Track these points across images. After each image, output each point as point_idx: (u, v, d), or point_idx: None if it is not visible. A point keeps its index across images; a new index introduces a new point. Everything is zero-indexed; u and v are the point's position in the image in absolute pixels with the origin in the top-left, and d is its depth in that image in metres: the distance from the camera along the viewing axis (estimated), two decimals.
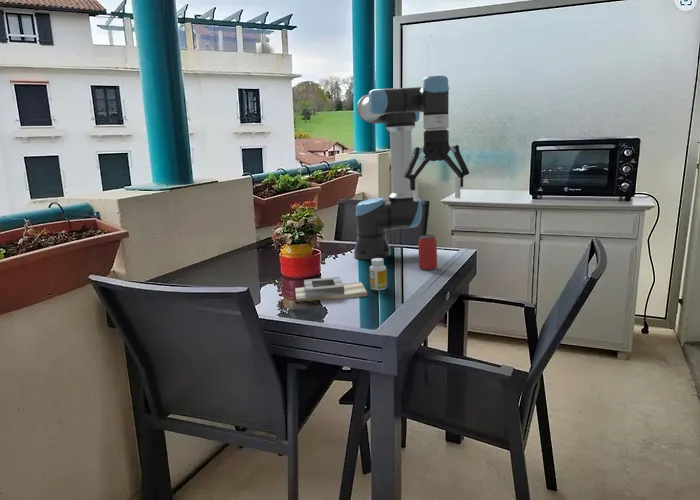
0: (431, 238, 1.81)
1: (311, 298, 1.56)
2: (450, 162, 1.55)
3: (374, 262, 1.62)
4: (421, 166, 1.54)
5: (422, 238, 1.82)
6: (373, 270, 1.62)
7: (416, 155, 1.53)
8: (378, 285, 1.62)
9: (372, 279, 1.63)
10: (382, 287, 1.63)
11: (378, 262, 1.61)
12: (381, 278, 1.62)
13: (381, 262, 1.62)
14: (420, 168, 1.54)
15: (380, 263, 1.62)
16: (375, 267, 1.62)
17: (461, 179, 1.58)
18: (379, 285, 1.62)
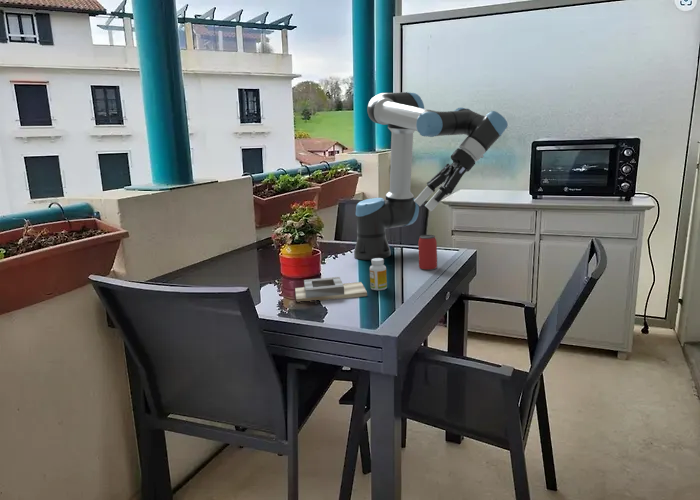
0: (431, 238, 1.81)
1: (311, 298, 1.56)
2: None
3: (374, 262, 1.62)
4: None
5: (422, 238, 1.82)
6: (373, 270, 1.62)
7: None
8: (378, 285, 1.62)
9: (372, 279, 1.63)
10: (382, 287, 1.63)
11: (378, 262, 1.61)
12: (381, 278, 1.62)
13: (381, 262, 1.62)
14: None
15: (380, 263, 1.62)
16: (375, 267, 1.62)
17: None
18: (379, 285, 1.62)
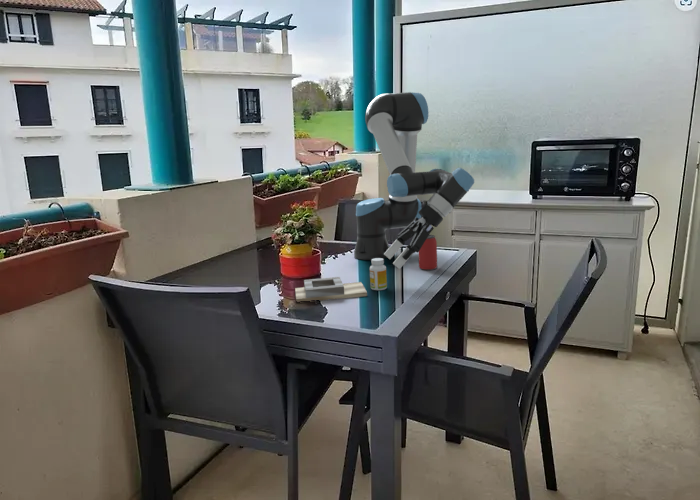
0: (431, 238, 1.81)
1: (311, 298, 1.56)
2: None
3: (374, 262, 1.62)
4: None
5: None
6: (373, 270, 1.62)
7: None
8: (378, 285, 1.62)
9: (372, 279, 1.63)
10: (382, 287, 1.63)
11: (378, 262, 1.61)
12: (381, 278, 1.62)
13: (381, 262, 1.62)
14: None
15: (380, 263, 1.62)
16: (375, 267, 1.62)
17: None
18: (379, 285, 1.62)
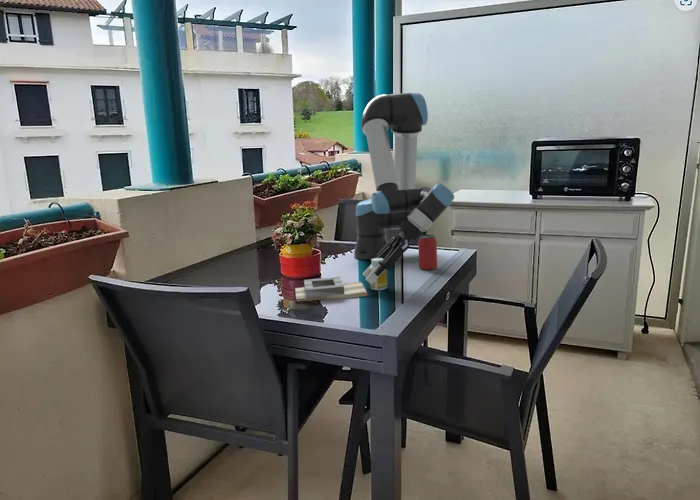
0: (431, 238, 1.81)
1: (311, 298, 1.56)
2: None
3: (374, 262, 1.62)
4: None
5: (422, 238, 1.82)
6: None
7: None
8: (378, 285, 1.62)
9: None
10: (382, 287, 1.63)
11: (378, 262, 1.61)
12: (381, 278, 1.62)
13: None
14: None
15: None
16: (375, 267, 1.62)
17: None
18: (379, 285, 1.62)
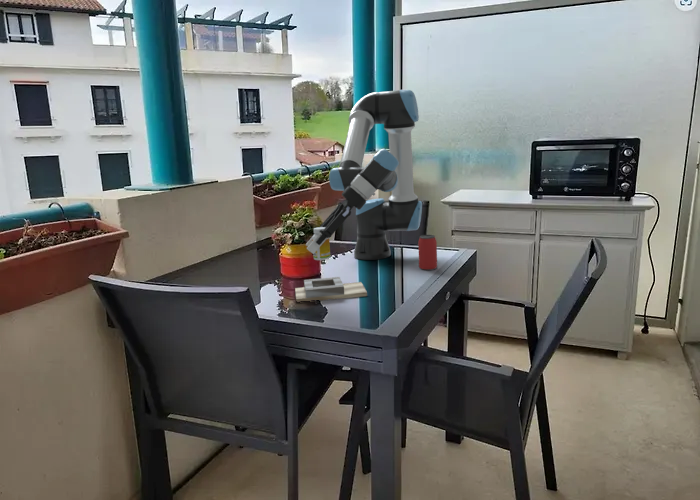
0: (431, 238, 1.81)
1: (311, 298, 1.56)
2: None
3: (316, 231, 1.56)
4: None
5: (422, 238, 1.82)
6: None
7: None
8: (320, 254, 1.57)
9: None
10: (324, 257, 1.57)
11: None
12: (323, 247, 1.56)
13: None
14: None
15: None
16: (316, 236, 1.56)
17: None
18: (321, 254, 1.57)
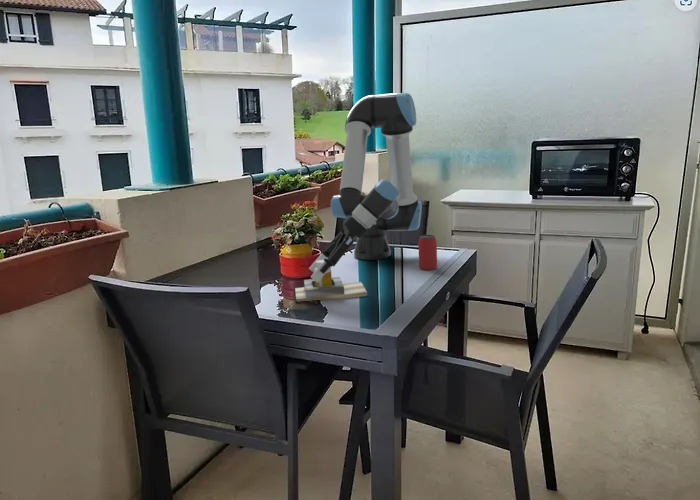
0: (431, 238, 1.81)
1: (311, 298, 1.56)
2: None
3: (318, 264, 1.58)
4: None
5: (422, 238, 1.82)
6: None
7: None
8: None
9: None
10: None
11: None
12: (325, 280, 1.59)
13: None
14: None
15: None
16: None
17: None
18: None
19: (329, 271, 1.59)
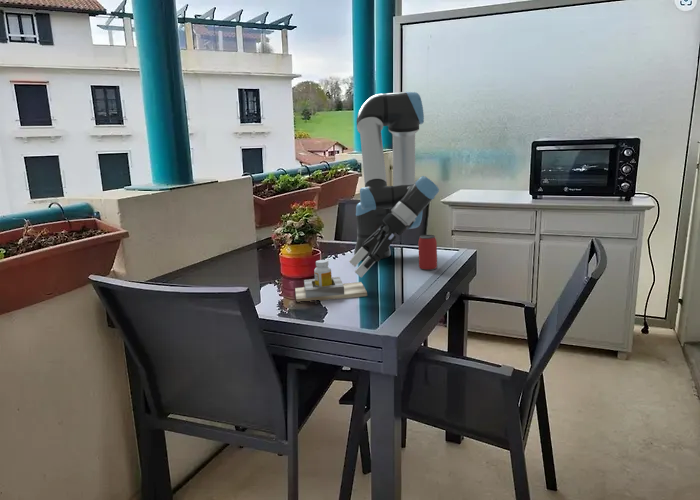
0: (431, 238, 1.81)
1: (311, 298, 1.56)
2: None
3: (318, 264, 1.58)
4: None
5: (422, 238, 1.82)
6: (317, 272, 1.59)
7: None
8: None
9: (317, 282, 1.59)
10: None
11: (322, 264, 1.58)
12: (325, 280, 1.59)
13: (325, 264, 1.59)
14: None
15: (324, 265, 1.58)
16: (319, 269, 1.58)
17: None
18: None
19: (329, 271, 1.59)
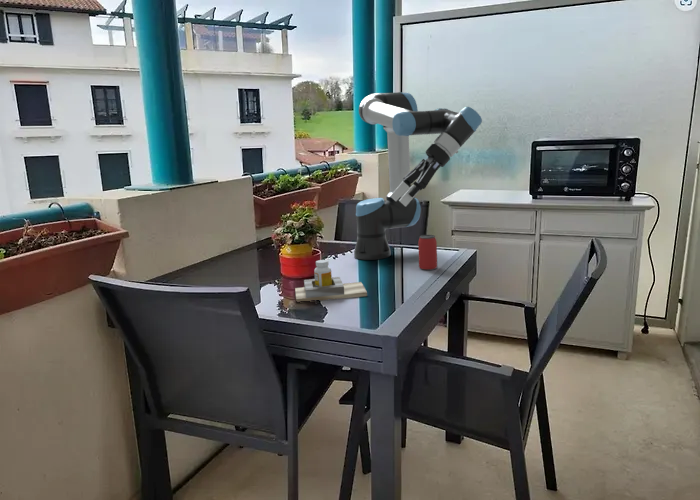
0: (431, 238, 1.81)
1: (311, 298, 1.56)
2: None
3: (318, 264, 1.58)
4: None
5: (422, 238, 1.82)
6: (317, 272, 1.59)
7: None
8: None
9: (317, 282, 1.59)
10: None
11: (322, 264, 1.58)
12: (325, 280, 1.59)
13: (325, 264, 1.59)
14: None
15: (324, 265, 1.58)
16: (319, 269, 1.58)
17: None
18: None
19: (329, 271, 1.59)
